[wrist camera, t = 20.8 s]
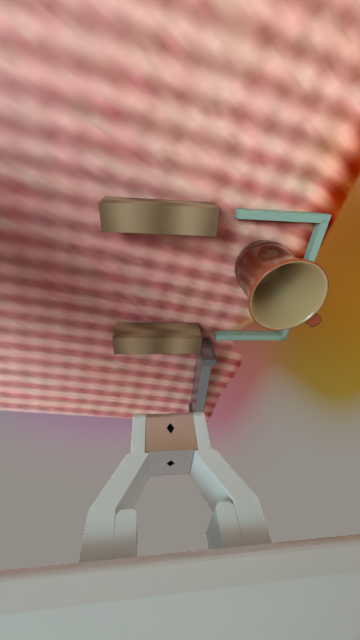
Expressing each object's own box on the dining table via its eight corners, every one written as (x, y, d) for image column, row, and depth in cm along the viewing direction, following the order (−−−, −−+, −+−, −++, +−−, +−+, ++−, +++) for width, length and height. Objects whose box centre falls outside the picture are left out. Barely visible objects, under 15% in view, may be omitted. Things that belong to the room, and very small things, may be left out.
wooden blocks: (117, 337, 42) (114, 354, 39) (105, 196, 30) (98, 202, 27) (196, 338, 43) (199, 353, 40) (213, 202, 32) (220, 209, 28)
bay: (214, 335, 43) (215, 340, 42) (236, 208, 32) (238, 210, 31) (282, 336, 44) (285, 340, 43) (326, 213, 33) (331, 215, 32)
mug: (214, 267, 36) (232, 303, 28) (262, 217, 33) (299, 241, 25) (266, 311, 41) (295, 354, 33) (313, 272, 38) (358, 308, 30)
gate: (188, 407, 53) (191, 430, 49) (197, 338, 43) (202, 360, 39) (199, 407, 53) (202, 430, 49) (210, 338, 43) (216, 359, 39)
